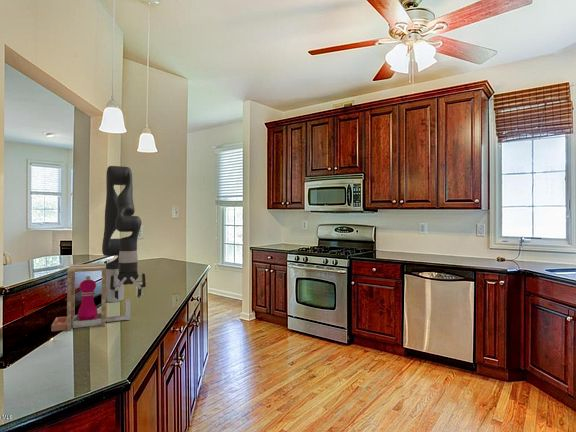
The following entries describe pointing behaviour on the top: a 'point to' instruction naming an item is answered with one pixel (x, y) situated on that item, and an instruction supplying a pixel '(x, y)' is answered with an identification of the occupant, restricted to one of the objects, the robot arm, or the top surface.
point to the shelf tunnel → (70, 289)
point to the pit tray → (59, 324)
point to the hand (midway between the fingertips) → (128, 298)
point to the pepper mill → (87, 300)
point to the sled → (99, 318)
